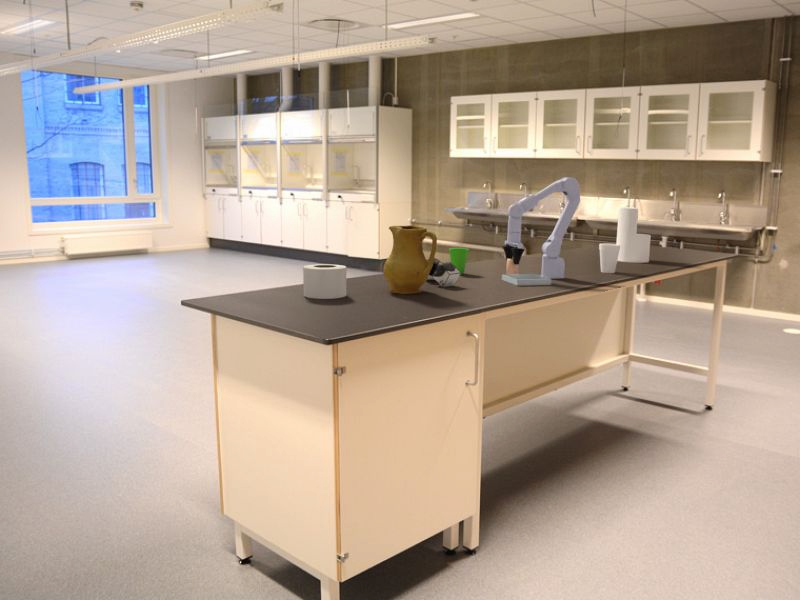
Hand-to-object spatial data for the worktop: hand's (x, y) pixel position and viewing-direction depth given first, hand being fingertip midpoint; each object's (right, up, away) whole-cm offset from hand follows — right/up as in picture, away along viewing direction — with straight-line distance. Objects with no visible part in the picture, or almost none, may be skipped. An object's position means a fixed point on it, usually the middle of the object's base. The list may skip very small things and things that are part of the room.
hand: (512, 263), depth 321 cm
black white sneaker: (-33, -9, -21) cm, 40 cm away
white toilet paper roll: (-76, -15, -55) cm, 95 cm away
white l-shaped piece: (+75, +5, +73) cm, 104 cm away
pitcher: (-46, -13, -44) cm, 65 cm away
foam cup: (+48, -3, +24) cm, 54 cm away
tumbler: (0, -6, +1) cm, 6 cm away
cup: (-23, -4, +9) cm, 25 cm away
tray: (+3, -9, -14) cm, 17 cm away
